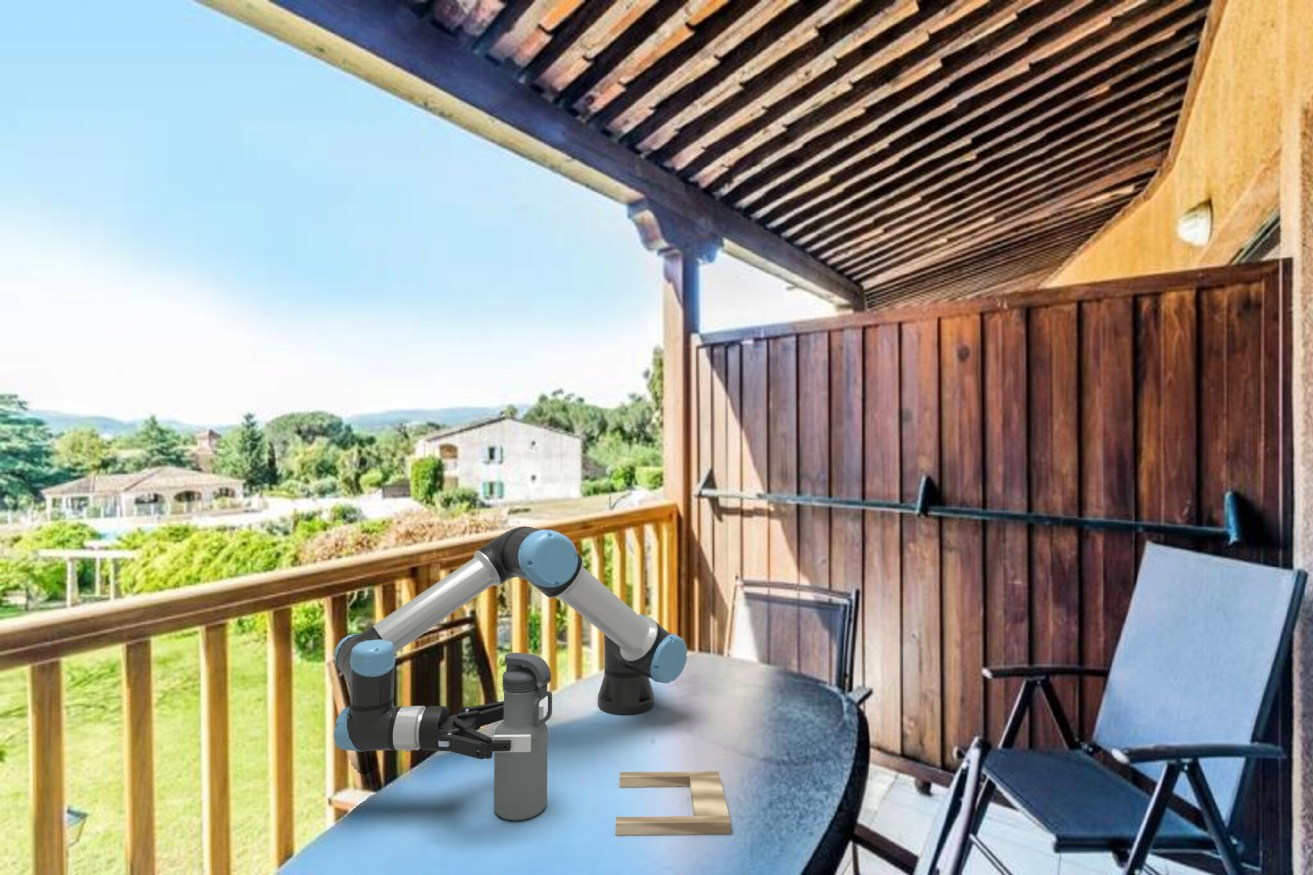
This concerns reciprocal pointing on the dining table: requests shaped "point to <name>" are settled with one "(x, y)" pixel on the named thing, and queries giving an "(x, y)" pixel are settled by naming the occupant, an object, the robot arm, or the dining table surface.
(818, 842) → the dining table surface
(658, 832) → the oak cut-out board
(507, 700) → the water bottle
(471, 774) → the dining table surface
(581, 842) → the dining table surface
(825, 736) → the dining table surface
